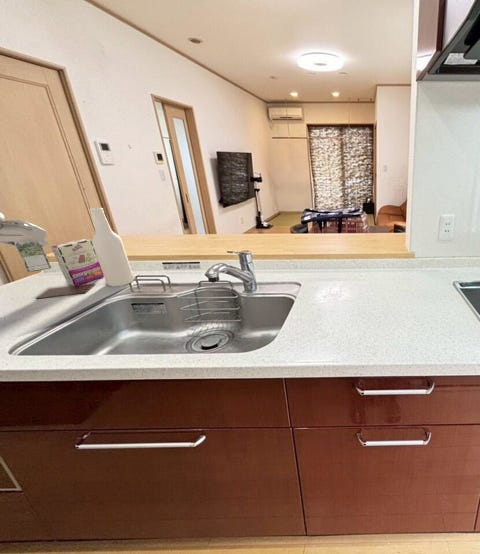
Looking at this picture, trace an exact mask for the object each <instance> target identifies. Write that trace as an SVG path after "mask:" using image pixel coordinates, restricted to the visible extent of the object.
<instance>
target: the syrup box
mask: <svg viewBox="0 0 480 554" xmlns="http://www.w3.org/2000/svg"><path fill="white" fill-rule="evenodd" d="M14 244H15V246H14V247H15V248H16V250H17V252H18V255H19V257H20V259H21V261H22V264H23V266H24V268H25V270H26V272H27V273H33V272H39V271H43V270H44V271H45V270H49V269H52V265H51V263H50V261H49V258H48V256H47V253H46V251H45V248H44V246H40V245H37V242H14Z"/></svg>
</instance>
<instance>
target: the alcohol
mask: <svg viewBox="0 0 480 554" xmlns="http://www.w3.org/2000/svg"><path fill="white" fill-rule="evenodd" d="M88 211H89V214H90V215H91V219H92V224H93V227H94V236H93V237H92V239H91V241H92V244H93V247H94V250H95V253H96V255H97V258H98V261H99V264H100V266H101V269H102V272H103V274H104V277H103V278H104V281H105V282H106V285H108V286H109V287H123V286H126V285H128V284H132V283H133V282H134V280H135V276H134V273H133V270H132V267H131V264H130V261H129V257H128V255H127V251H126V249H125V245H124V242H123V239H122V238H121V236H120V235H119V234H118V233H115V232H114V231H113V230H112V228H111V226H110V222H109V221H108V219H107V216H106V214H105V211H104V208H103V207H93V208H92V207H91V208H89V209H88Z"/></svg>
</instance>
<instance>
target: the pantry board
mask: <svg viewBox="0 0 480 554" xmlns="http://www.w3.org/2000/svg"><path fill="white" fill-rule="evenodd" d="M94 286H96V283H95V282H94V283H84V284H81V285H76V286H72V285H68V286H60V287H59V286H58V287H50V288H49V289H47V290H45V291H44V292H42V293H41V294H40V295H38V296H37V297H35V299H36V300H44V299H50V298H57V297H58V298H60V297H67V296H76V295H85V294H87V293H88V292H89V291H90V290H91V289H92V288H93V287H94Z"/></svg>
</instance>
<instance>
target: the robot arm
mask: <svg viewBox="0 0 480 554" xmlns="http://www.w3.org/2000/svg"><path fill="white" fill-rule="evenodd" d="M47 237H48V231H47V230H46V229H44V228H41V227H39V226H38V225H35V224H33V223H32V222H31V223H30V222H28V221H25V220H22V219H21V220H20V219H5V215H4V214H3V213H2V212H0V243H1V244H4V245H8V246H11V247H16V246H15V244H14V242H37V245H40V246H43V247H48V245H49V242H48V241H47V240H46V238H47Z"/></svg>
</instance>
